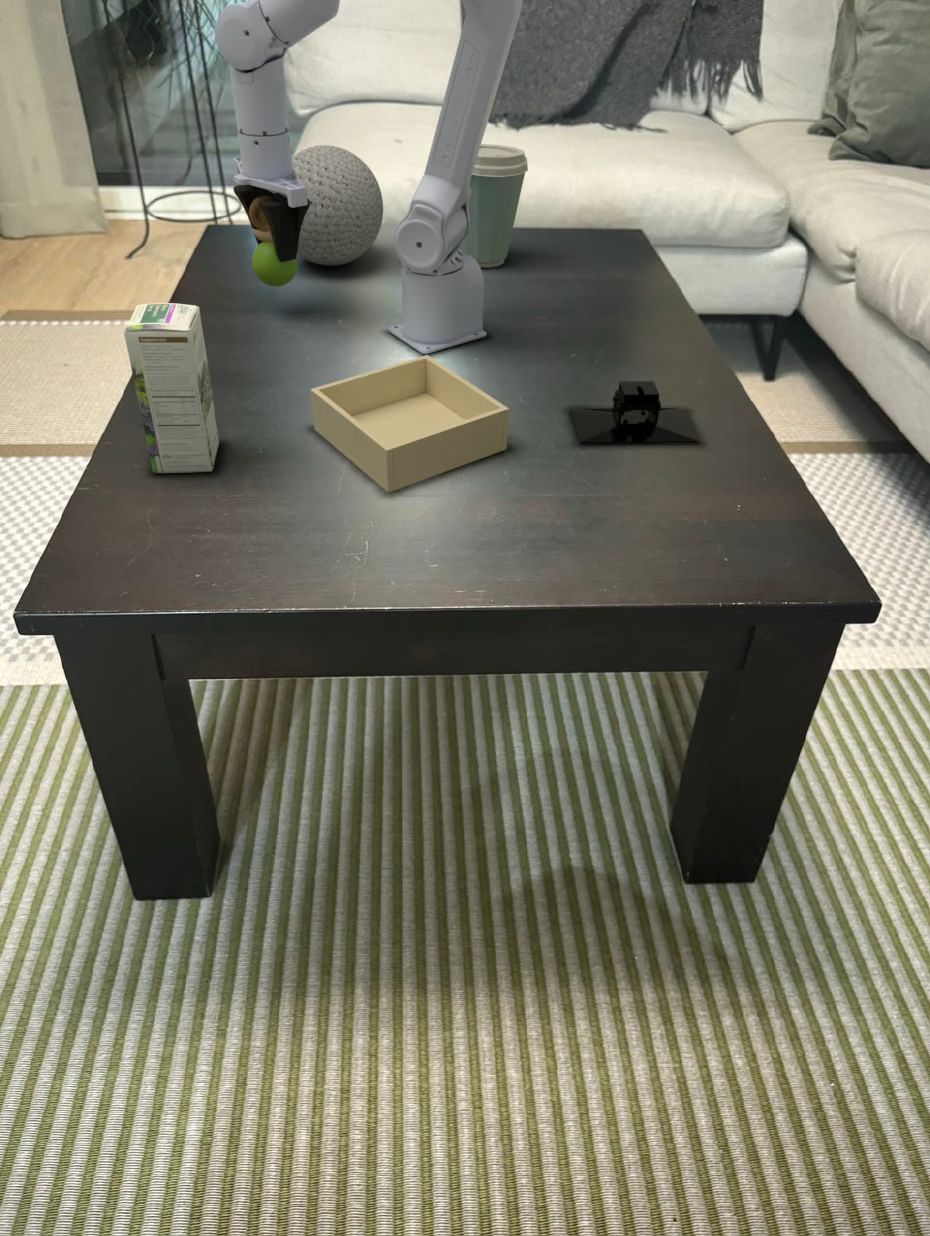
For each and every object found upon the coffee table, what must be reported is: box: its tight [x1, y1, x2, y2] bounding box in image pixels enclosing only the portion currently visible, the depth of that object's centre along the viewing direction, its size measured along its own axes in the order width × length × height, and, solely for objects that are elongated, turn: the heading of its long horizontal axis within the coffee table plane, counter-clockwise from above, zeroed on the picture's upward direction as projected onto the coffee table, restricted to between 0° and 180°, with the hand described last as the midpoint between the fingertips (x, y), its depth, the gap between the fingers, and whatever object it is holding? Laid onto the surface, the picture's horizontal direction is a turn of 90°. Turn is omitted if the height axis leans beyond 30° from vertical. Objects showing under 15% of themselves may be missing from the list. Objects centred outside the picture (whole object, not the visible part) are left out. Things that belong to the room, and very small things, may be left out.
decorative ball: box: [292, 144, 384, 267], centre depth 125 cm, size 15×15×15 cm
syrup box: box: [123, 302, 220, 474], centre depth 85 cm, size 6×6×14 cm
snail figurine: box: [249, 196, 298, 287], centre depth 110 cm, size 5×6×12 cm
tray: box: [310, 354, 510, 493], centre depth 92 cm, size 14×14×5 cm
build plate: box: [569, 380, 700, 446], centre depth 95 cm, size 12×7×5 cm, turn 93°
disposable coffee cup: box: [460, 143, 529, 268], centre depth 127 cm, size 11×11×15 cm
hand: (277, 253), depth 111 cm, fingers closed on snail figurine, 4 cm apart
